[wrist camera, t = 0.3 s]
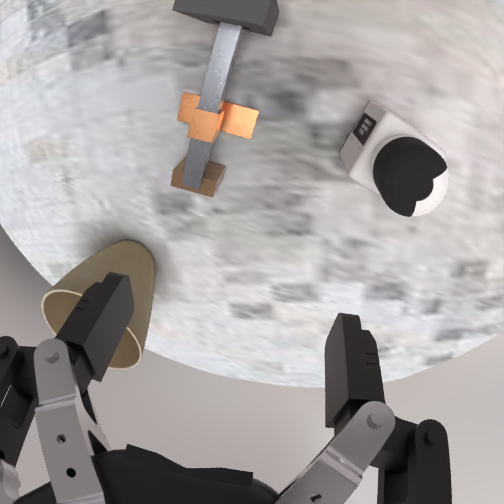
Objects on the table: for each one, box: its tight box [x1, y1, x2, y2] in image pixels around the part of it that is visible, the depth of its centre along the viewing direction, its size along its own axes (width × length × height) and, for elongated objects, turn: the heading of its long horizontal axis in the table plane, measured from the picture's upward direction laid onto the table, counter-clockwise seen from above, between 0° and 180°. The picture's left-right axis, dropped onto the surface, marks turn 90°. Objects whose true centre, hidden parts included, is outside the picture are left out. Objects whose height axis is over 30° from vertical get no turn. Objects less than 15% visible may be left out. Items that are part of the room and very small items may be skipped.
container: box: [339, 101, 449, 217], centre depth 28 cm, size 8×8×13 cm
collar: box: [172, 0, 279, 36], centre depth 21 cm, size 3×7×10 cm, turn 75°
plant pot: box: [41, 240, 155, 370], centre depth 41 cm, size 15×15×16 cm
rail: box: [171, 22, 259, 197], centre depth 28 cm, size 26×9×6 cm, turn 165°
